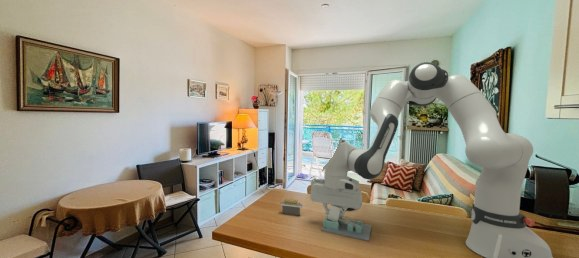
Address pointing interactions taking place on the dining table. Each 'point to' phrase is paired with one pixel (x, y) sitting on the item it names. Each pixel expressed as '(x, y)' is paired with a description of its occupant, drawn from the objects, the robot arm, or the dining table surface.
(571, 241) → the dining table surface
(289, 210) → the potted plant
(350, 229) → the board
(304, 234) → the dining table surface
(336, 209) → the cable plug
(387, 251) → the dining table surface
